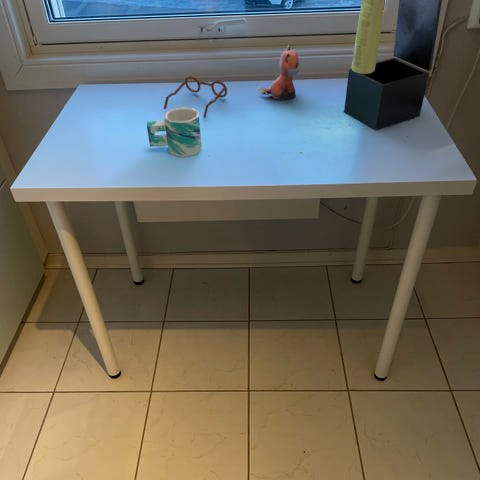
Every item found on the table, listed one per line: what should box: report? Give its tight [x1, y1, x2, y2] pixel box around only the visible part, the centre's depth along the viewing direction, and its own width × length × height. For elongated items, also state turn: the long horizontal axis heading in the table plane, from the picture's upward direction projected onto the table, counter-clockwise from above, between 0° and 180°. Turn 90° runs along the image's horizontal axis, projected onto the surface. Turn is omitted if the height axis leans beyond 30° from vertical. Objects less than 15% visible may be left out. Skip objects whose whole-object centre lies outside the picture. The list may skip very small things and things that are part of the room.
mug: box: [146, 106, 203, 158], centre depth 122 cm, size 8×12×8 cm
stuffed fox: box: [257, 44, 301, 101], centre depth 141 cm, size 8×11×12 cm
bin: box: [343, 57, 430, 131], centre depth 131 cm, size 15×13×11 cm
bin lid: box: [393, 0, 443, 72], centre depth 125 cm, size 15×13×5 cm
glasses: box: [163, 75, 228, 118], centre depth 141 cm, size 13×13×5 cm
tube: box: [351, 0, 386, 74], centre depth 103 cm, size 6×5×20 cm
